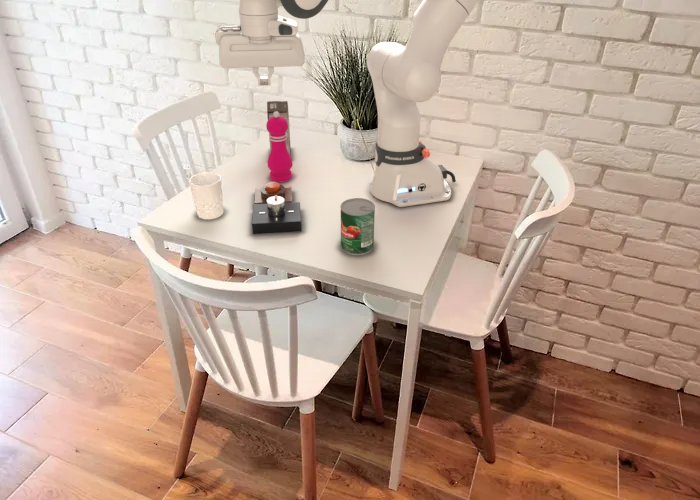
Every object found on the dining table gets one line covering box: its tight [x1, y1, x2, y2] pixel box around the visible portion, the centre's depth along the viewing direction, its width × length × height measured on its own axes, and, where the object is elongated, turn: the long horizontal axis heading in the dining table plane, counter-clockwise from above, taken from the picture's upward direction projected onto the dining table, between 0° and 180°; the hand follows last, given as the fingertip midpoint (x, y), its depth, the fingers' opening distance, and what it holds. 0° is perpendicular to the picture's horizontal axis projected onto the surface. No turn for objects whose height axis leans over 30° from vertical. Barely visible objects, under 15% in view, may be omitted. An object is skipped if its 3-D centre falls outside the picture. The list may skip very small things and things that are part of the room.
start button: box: [265, 181, 280, 193], centre depth 151 cm, size 4×4×2 cm
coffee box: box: [266, 100, 292, 157], centre depth 173 cm, size 9×6×16 cm
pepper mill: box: [266, 111, 293, 183], centre depth 159 cm, size 7×7×20 cm
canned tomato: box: [340, 197, 376, 256], centre depth 131 cm, size 8×8×11 cm
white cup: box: [188, 171, 224, 220], centre depth 144 cm, size 8×8×10 cm
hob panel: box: [251, 201, 303, 235], centre depth 142 cm, size 12×10×3 cm
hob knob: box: [267, 195, 285, 217], centre depth 140 cm, size 4×4×4 cm
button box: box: [253, 183, 293, 204], centre depth 152 cm, size 10×8×4 cm
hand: (264, 84), depth 137 cm, fingers closed
